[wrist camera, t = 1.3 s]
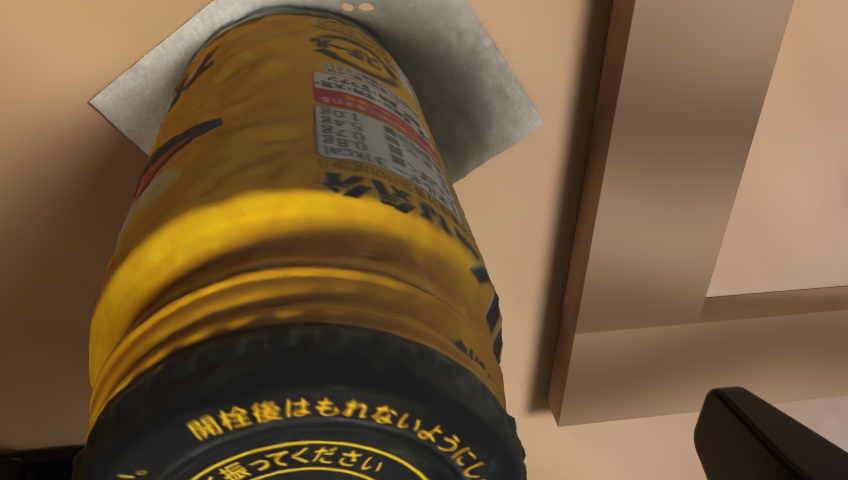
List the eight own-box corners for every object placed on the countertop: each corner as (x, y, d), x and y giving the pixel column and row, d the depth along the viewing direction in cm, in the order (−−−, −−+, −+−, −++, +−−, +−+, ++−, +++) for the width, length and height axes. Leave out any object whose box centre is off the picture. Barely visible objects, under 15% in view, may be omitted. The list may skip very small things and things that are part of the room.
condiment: (90, 98, 17) (-199, 564, 7) (379, -136, 15) (559, 26, 5) (293, 287, 21) (298, 764, 11) (542, 117, 19) (826, 492, 9)
